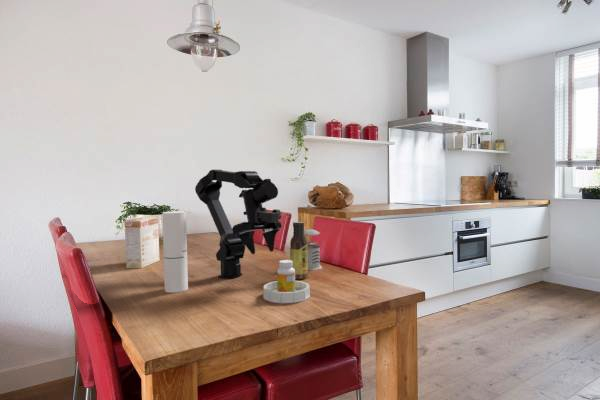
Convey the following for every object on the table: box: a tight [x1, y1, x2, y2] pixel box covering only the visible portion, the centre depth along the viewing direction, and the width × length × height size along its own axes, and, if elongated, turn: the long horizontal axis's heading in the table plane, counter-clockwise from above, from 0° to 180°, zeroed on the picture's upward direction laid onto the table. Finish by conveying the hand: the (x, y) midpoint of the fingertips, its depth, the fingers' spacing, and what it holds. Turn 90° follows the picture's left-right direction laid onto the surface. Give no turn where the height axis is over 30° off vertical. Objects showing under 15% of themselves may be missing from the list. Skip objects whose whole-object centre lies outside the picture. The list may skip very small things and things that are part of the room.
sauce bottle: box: [289, 221, 309, 280], centre depth 137 cm, size 7×6×20 cm
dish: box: [262, 280, 311, 304], centre depth 116 cm, size 14×14×3 cm
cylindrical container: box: [162, 210, 189, 294], centre depth 124 cm, size 7×7×25 cm
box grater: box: [304, 204, 323, 271], centre depth 152 cm, size 10×12×25 cm
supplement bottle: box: [276, 259, 296, 292], centre depth 116 cm, size 5×5×10 cm
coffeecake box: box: [124, 216, 160, 269], centre depth 162 cm, size 15×7×20 cm, turn 172°
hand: (263, 252), depth 127 cm, fingers open, 9 cm apart
